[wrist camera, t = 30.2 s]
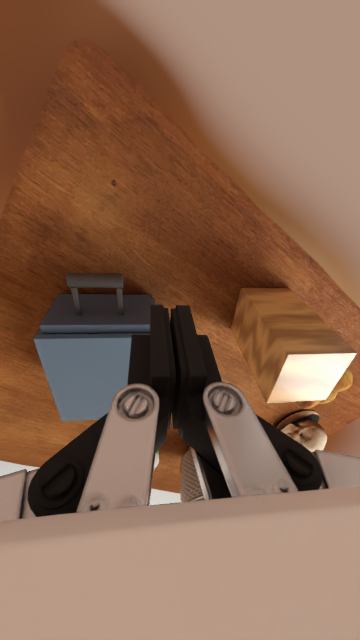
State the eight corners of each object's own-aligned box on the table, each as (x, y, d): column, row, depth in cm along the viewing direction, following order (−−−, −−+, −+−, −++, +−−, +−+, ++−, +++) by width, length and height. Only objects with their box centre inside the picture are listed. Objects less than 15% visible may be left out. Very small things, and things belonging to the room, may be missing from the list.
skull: (278, 447, 66) (288, 466, 56) (264, 409, 67) (272, 422, 57) (322, 435, 64) (341, 454, 54) (308, 398, 65) (324, 408, 55)
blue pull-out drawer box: (49, 255, 30) (25, 282, 24) (151, 259, 32) (152, 284, 25) (76, 368, 41) (64, 406, 35) (150, 366, 43) (151, 401, 37)
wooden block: (240, 287, 37) (288, 354, 24) (289, 288, 38) (357, 352, 26) (230, 329, 41) (266, 403, 29) (274, 328, 42) (326, 400, 30)
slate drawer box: (57, 297, 34) (32, 339, 27) (154, 298, 36) (157, 337, 28) (76, 374, 43) (61, 421, 35) (153, 371, 45) (155, 416, 37)
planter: (237, 442, 64) (255, 500, 54) (199, 464, 69) (209, 521, 58) (204, 426, 58) (217, 487, 47) (164, 451, 62) (168, 512, 52)
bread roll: (330, 336, 45) (362, 367, 39) (351, 358, 50) (383, 389, 43) (275, 375, 50) (295, 408, 43) (299, 392, 54) (320, 424, 48)
